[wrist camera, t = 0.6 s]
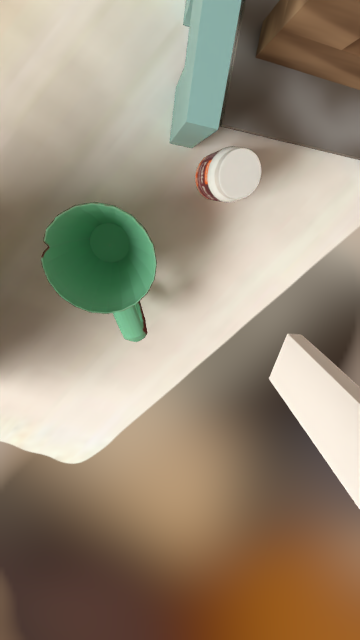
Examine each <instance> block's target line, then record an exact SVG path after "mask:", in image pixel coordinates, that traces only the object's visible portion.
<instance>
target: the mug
mask: <svg viewBox="0 0 360 640" xmlns="http://www.w3.org/2000/svg"><path fill="white" fill-rule="evenodd" d="M43 241H44V243H45V244H47V246H48V248H47V249H46V250H45V251H44V252H43V254H42V257H41V263H42V267H43V269H44V272H45V275H46V277H47V280H48V282H49V283H50V284H51V286H52V287H53V288H54V289H55V291H56V292H57V293H58V294H59V296H60V297H62V298H63V299H65V300H66V301H67V302H69V303H70V304H72V305H73V306H75V307H77V308H80V309H83V310H85V311H88V312H91V313H102V314H109V313H113V314H114V317H115V319H116V322H117V324H118V326H119V328H120V330H121V333H122V335H123V337H124V339H126V340H129V341H134V342H137V341H140V340H142V339H143V338H145V336H146V335H147V328H146V322H145V317H144V314H143V311H142V307H141V304H140V300H141V299H142V298H143V297H144V296H145V295H146V294H147V293H148V291H149V289H150V287H151V285H152V283H153V281H154V279H155V272H156V265H157V261H156V255H155V249H154V245H153V243H152V241H151V239H150V237H149V235H148V233H147V231H146V229H145V228H144V227H143V226H142V225H141V224H140V223H139V222H138V221H137V220H136V219H135V218H134V217H133V216H132V215H131V214H129V213H127V212H125V211H123V210H122V209H120V208H118V207H116V206H113V205H108V204H103V203H97V202H93V203H86V204H79V205H74V206H73V207H71V208H69V209H67V210H65V211H64V212H62V213H60V214H58V215H57V216H56V218H55V219H54V220H53V221H52V223H51V224H50V225H49V226H48V227H47V229H46V232H45V235H44V239H43Z"/></svg>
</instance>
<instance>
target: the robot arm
mask: <svg viewBox="0 0 360 640" xmlns="http://www.w3.org/2000/svg"><path fill="white" fill-rule="evenodd" d="M269 379H270V381H271V382H272V384H273V385H274V387H275V388H276V389H277V391H278V392H279V393H280V395H281V397H282V398H283V399H284V401H285V402H286V403H287V405H288V407H289V408H290V410H291V411H292V413H293V414H294V415H295V417H296V418H297V420H298V421H299V422H300V424H301V425H302V427H303V428H304V430H305V431H306V433H307V434H308V435H309V437H310V438H311V439H312V441H313V443H314V444H315V446H316V447H317V448H318V450H319V451H320V453H321V454H322V456H323V457H324V458H325V460H326V461H327V463H328V464H329V465H330V467H331V469H332V470H333V472H334V473H335V474H336V476H337V477H338V479H339V480H340V482H341V483H342V484H343V486H344V487H345V489H346V490H347V492H348V493H349V494H350V496H351V497H352V499H353V500H354V502H355V503H356V505H357V506H358V507H359V509H360V387H359V386H358V385H357V384H356V383H354V381H352V380H351V379H350V378H349V377H348V376H347V375H346V374H345V373H343V372H342V371H341V370H340V369H339V368H338V367H337V366H336V365H334V364H333V363H332V362H331V361H330V360H329V359H328V358H327V357H326V356H325V355H323V354H322V353H321V352H320V351H319V350H318V349H317V348H316V347H314V346H313V345H312V344H311V343H310V342H309V341H308V340H307V339H305V337H303V336H302V335H298V334H287V336H286V339H285V341H284V343H283V346H282V348H281V351H280V353H279V356H278V358H277V361H276V363H275V365H274V368H273V370H272V373H271V375H270V378H269Z"/></svg>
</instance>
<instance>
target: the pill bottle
mask: <svg viewBox="0 0 360 640" xmlns="http://www.w3.org/2000/svg"><path fill="white" fill-rule="evenodd" d="M261 173H262V169H261V163H260V160H259V158H258V156H257V155H256V154H255V153H254V152H253V151H252V150H250V149H247V148H239V147H227V148H224V149H222V150H220V151H217V152H215V153H213V154H210V155H208V156H206V157H205V158H204V159H203V160H202V161H201V162H200V163H199V165H198V167H197V169H196V173H195V183H196V187H197V189H198V191H199V192H200V194H201V195H202V196H204V197H205V198H207V199H210V200H215V201H221V202H227V203H228V202H235V201H238V200H240V199H244V198H246V197H248V196H249V195H251V194H252V193H253V192H254V191H255V189H256V188H257V186H258V184H259V182H260V179H261Z"/></svg>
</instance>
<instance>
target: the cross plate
mask: <svg viewBox="0 0 360 640" xmlns="http://www.w3.org/2000/svg"><path fill="white" fill-rule="evenodd" d="M241 1H242V0H186V6H185V14H184V23H183V25H185V26H188V27H190V28H189V36H188V44H187V52H186V60H185V67H184V69H183V71H182V74H181V76H180V79H179V81H178V84H177V86H176V92H175V101H174V109H173V118H172V126H171V135H170V143H171V144H175V145H180V146H184V147H189V148H193V147H194V146H196V145H197V144H198V143H200V142H201V141H203V140H204V139H205V138H207V137H208V136H210V135H211V134H213V133H214V132H215V131H217V130H218V128H219V122H220V117H221V111H222V106H223V100H224V95H225V89H226V84H227V78H228V72H229V67H230V61H231V56H232V50H233V45H234V39H235V34H236V28H237V23H238V17H239V12H240V6H241Z"/></svg>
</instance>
